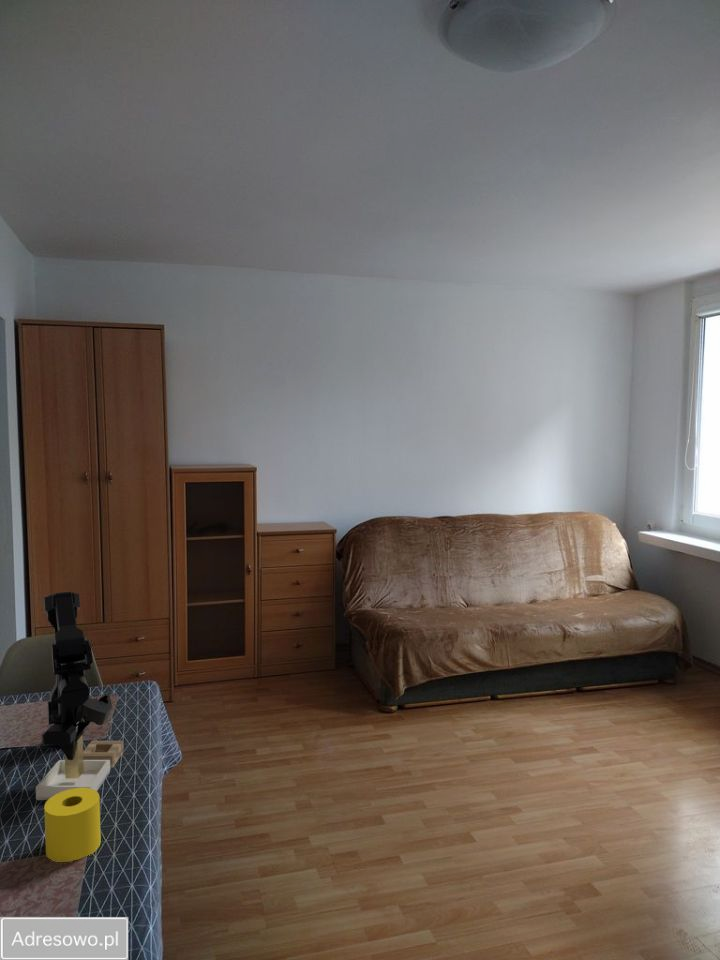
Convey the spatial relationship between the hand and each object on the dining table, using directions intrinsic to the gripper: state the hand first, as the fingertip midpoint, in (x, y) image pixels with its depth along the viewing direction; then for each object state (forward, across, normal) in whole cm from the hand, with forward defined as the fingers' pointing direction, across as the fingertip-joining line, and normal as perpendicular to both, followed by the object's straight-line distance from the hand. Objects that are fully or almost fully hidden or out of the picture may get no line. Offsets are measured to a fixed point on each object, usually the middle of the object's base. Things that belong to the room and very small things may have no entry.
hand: (73, 756), depth 157 cm
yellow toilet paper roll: (+7, -23, -9) cm, 26 cm away
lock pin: (+4, 0, 0) cm, 5 cm away
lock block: (+7, +12, -2) cm, 14 cm away
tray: (+7, 0, 0) cm, 7 cm away
